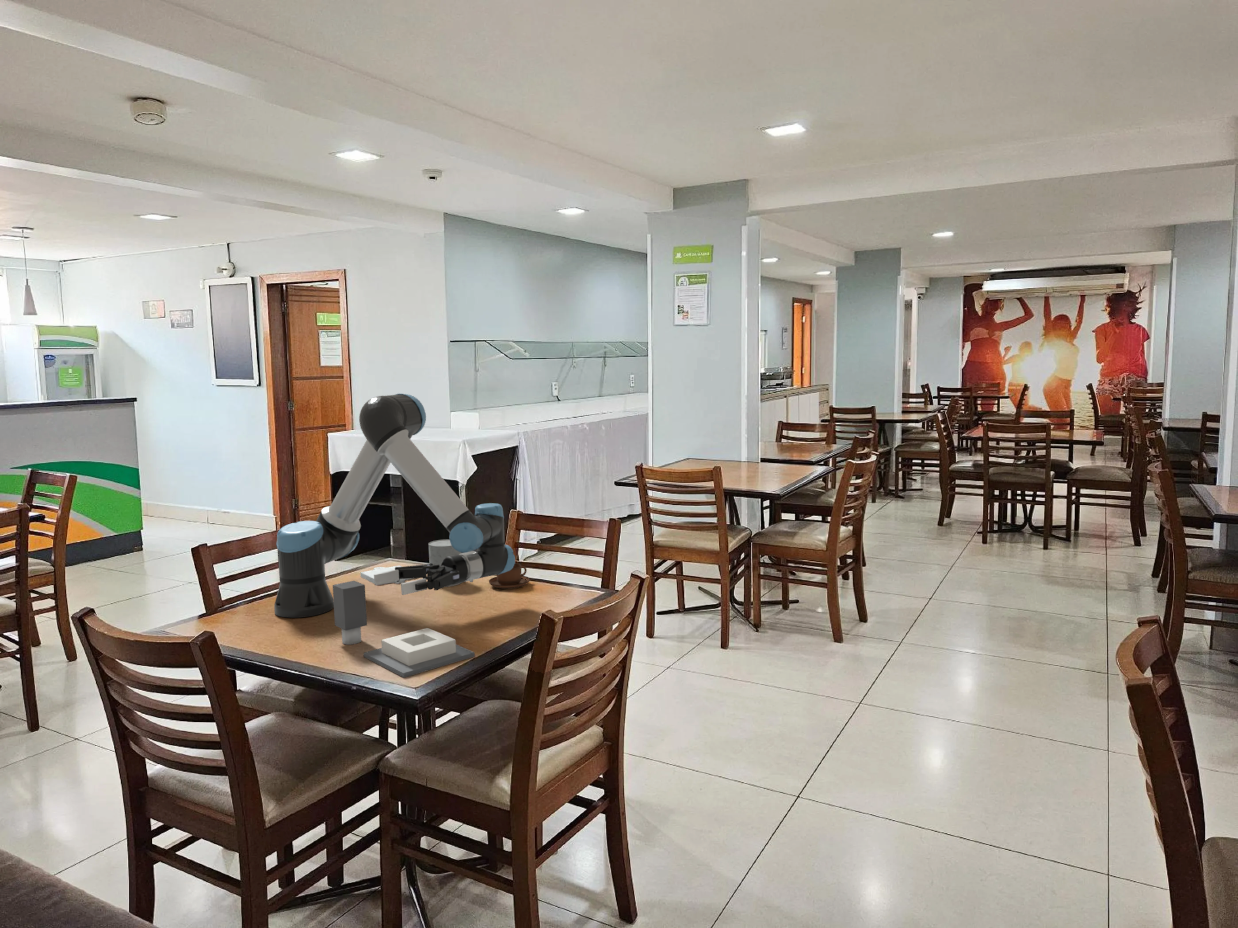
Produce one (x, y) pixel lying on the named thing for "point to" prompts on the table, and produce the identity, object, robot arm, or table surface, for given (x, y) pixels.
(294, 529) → the robot arm
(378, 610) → the table surface
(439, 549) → the grey cylinder
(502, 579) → the cup and saucer
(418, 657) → the socket
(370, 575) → the mounting plate
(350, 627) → the plug
